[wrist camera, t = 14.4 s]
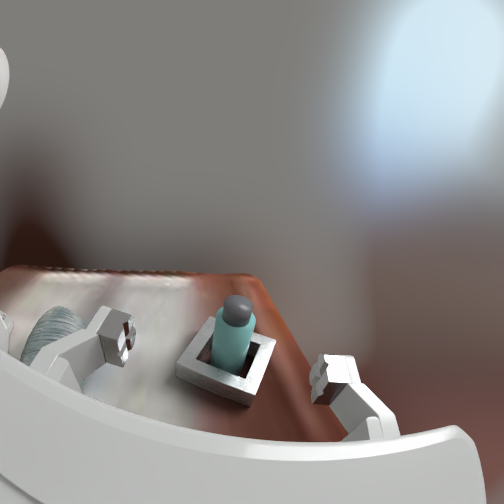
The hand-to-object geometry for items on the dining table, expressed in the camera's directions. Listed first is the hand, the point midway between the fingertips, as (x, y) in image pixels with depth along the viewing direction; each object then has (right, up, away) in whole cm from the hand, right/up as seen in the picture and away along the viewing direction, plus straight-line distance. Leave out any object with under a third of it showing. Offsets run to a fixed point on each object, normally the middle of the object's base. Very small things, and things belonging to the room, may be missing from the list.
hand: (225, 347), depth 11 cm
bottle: (-2, -11, +24) cm, 26 cm away
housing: (-2, -11, +24) cm, 26 cm away
